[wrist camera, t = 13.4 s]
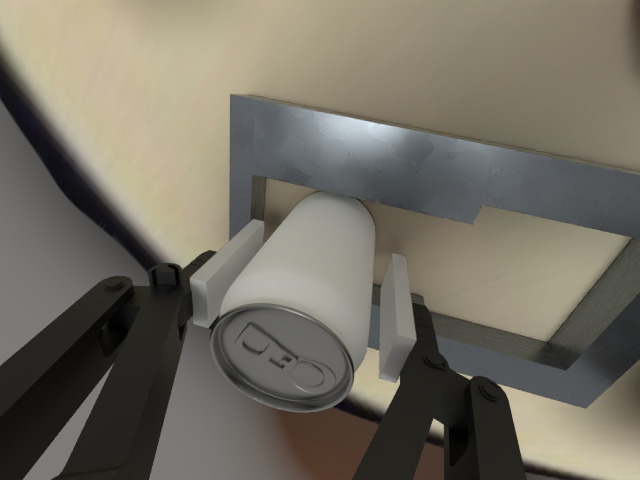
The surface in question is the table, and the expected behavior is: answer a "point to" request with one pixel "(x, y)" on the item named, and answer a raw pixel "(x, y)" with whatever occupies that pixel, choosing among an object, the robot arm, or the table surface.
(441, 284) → the table surface
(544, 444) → the table surface
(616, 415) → the table surface
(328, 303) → the can
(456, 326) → the keyhole plate
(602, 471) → the table surface
